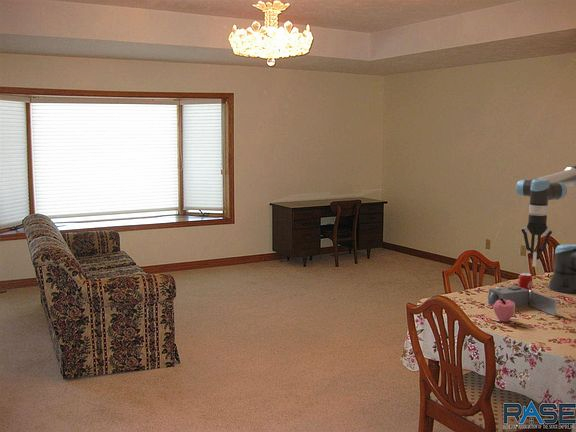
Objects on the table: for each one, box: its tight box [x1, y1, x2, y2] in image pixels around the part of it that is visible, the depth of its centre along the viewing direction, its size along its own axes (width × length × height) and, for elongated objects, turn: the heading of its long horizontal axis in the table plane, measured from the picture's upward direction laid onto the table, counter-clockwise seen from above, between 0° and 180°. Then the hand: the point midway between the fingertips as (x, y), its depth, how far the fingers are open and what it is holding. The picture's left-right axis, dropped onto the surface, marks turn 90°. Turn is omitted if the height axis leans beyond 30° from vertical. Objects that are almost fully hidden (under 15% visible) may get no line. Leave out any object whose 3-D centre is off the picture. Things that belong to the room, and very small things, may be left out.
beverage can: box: [517, 272, 533, 290], centre depth 296 cm, size 6×6×12 cm
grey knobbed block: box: [487, 285, 529, 308], centre depth 285 cm, size 18×9×8 cm, turn 113°
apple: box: [492, 298, 516, 323], centre depth 261 cm, size 10×9×10 cm
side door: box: [527, 289, 558, 317], centre depth 277 cm, size 16×2×7 cm, turn 20°
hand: (534, 266), depth 278 cm, fingers closed
